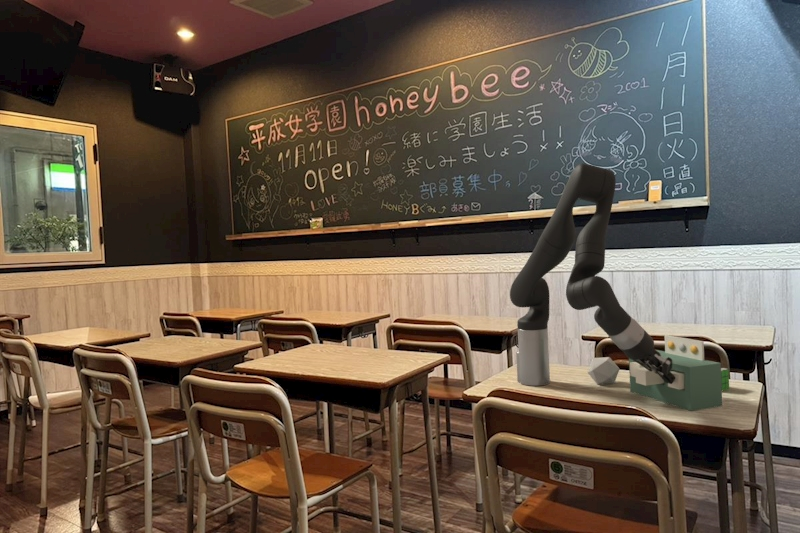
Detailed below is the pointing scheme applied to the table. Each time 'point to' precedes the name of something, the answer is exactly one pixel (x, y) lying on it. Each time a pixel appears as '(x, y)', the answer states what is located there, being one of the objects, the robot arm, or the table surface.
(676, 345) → the console
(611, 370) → the die
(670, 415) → the table surface
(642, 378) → the button mid
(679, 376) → the button right
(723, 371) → the puzzle toy
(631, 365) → the button left
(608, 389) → the table surface
